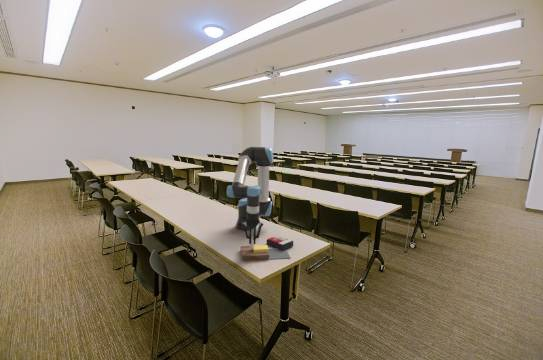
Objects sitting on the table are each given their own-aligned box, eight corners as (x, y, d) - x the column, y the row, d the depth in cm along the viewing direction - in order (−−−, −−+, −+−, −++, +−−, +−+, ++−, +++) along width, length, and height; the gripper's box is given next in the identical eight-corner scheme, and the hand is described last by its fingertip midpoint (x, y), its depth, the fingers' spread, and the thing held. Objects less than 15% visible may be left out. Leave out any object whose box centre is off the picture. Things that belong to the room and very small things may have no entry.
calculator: (277, 234, 182) (293, 239, 172) (277, 240, 183) (293, 245, 172) (266, 238, 175) (282, 244, 164) (266, 244, 175) (282, 250, 165)
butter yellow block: (252, 248, 161) (252, 245, 160) (266, 247, 162) (266, 244, 162) (253, 252, 155) (253, 249, 155) (268, 252, 157) (268, 249, 156)
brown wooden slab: (240, 250, 164) (240, 246, 163) (265, 249, 167) (265, 245, 166) (242, 261, 150) (242, 256, 150) (268, 259, 153) (269, 254, 153)
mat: (265, 249, 167) (265, 248, 167) (285, 248, 170) (285, 247, 169) (269, 259, 154) (269, 259, 153) (290, 258, 156) (290, 257, 156)
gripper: (242, 214, 149) (242, 252, 153) (264, 213, 151) (263, 251, 155) (241, 210, 156) (241, 246, 160) (262, 210, 158) (261, 245, 162)
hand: (252, 248), depth 158 cm, fingers closed
